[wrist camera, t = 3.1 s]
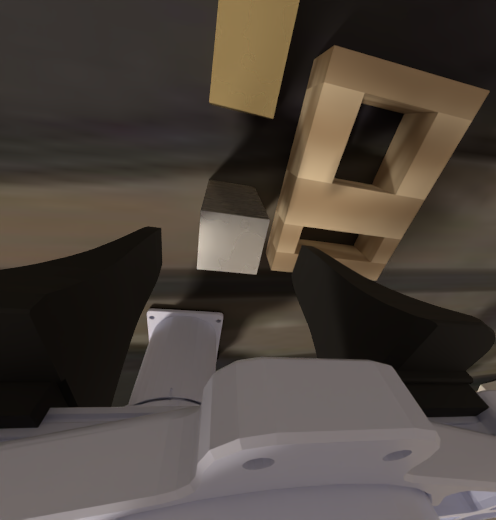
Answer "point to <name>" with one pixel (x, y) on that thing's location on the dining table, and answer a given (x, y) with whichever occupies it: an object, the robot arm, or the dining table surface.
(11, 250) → the dining table surface
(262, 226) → the square bit
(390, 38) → the dining table surface
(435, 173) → the socket block
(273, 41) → the tan rectangular block
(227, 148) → the dining table surface
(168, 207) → the dining table surface
